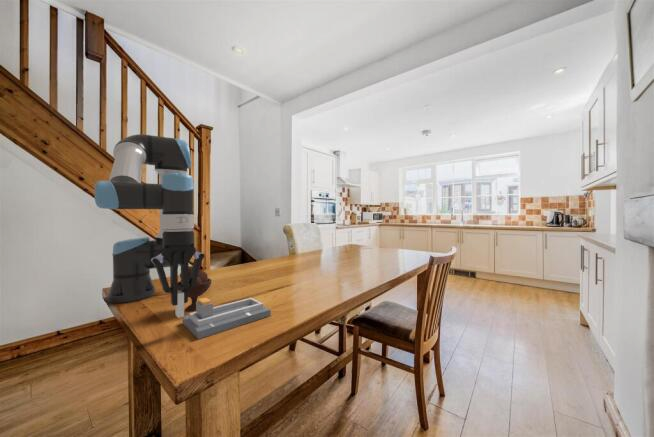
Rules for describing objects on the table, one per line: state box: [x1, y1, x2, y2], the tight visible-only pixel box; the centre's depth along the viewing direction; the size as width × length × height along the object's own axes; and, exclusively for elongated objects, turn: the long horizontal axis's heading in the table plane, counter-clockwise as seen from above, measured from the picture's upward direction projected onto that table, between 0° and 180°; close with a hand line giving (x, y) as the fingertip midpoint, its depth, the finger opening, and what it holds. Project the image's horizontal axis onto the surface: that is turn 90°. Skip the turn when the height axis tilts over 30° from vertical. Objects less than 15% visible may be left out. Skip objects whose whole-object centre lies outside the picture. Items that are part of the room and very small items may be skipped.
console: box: [182, 297, 272, 340], centre depth 79 cm, size 14×22×4 cm, turn 135°
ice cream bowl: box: [178, 265, 212, 313], centre depth 89 cm, size 11×11×15 cm
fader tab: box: [195, 297, 214, 319], centre depth 75 cm, size 5×3×6 cm, turn 45°
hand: (179, 315), depth 70 cm, fingers closed
